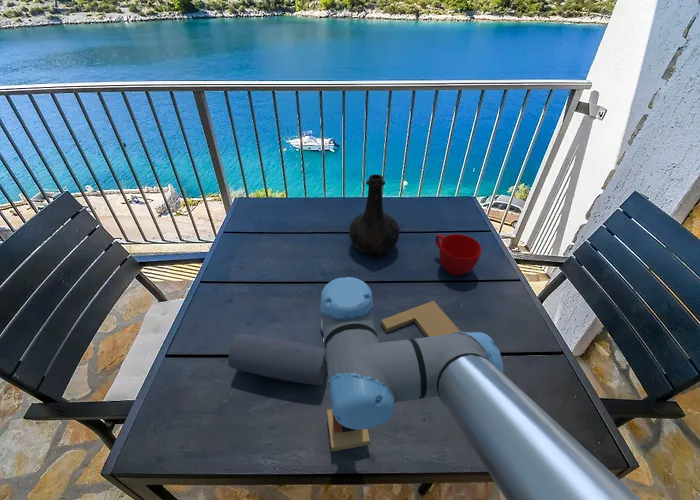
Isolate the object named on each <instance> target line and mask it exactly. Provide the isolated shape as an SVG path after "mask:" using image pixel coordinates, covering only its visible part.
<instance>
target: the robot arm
mask: <svg viewBox="0 0 700 500" xmlns="http://www.w3.org/2000/svg"><path fill="white" fill-rule="evenodd" d="M319 307H320V312H321V320H322V325H323V332H322V333H323V338H322V339H323V348H324V356H325V365H326V375H327V383H328V384H327V386H328V392H329V396H330V403H331V409H332V410H333V414H334V417H335V419H336V420H337V421H338V423H340V424H341V425H342V431H343V432H348V431H354V430H363V429H372V428H374V427H376V426H381V425H383V424H385V423H386V422H388V421H390V419H391V418H392V416H393V415H394V412H395V403H399V402H407V401H416V400H421V399H430V398H436V397H437V398H439V399H440V400H441V402H442V403H443V405H444V406H445V408H446V409H447V410H448V413H450V415H451V416H452V418H453V420H454V421H455V423H456V425H457V426H458V428H459V429H460V430H461V432H462V434H463V435H464V437H465V439H466V441H467V442H468V443H469V445H470V447H471V448H472V449H473V451H474V452H475V454H476V455H477V457H478V459H479V460H480V461H481V463H482V465H483V466H484V468H485V469H486V471H487V473H488V474H489V475H490V478H492V480H493V482H494V483H495V485H496V487H497V488H498V489H499V491H500V492H501V494H502V496H503V497H504V499H505V500H642V499H641V498H640V497H639V496H638V495H637V494H636V493H635V492H634V491H632V489H630V488H629V486H627V484H625V483H624V482H623V481H622V480H621V479H620V478H618V476H616V475H615V474H614V473H613V472H612V471H611V470H610V469H608V468H607V467H606V466H605V465H604V464H603V463H602V462H601V461H599V459H597V458H596V457H595V456H594V455H593V453H591V452H590V451H589V450H588V449H586V448H585V447H584V446H583V444H581V443H580V442H579V441H578V440H577V439H576V438H574V437H573V435H571V434H570V433H569V432H568V431H567V430H566V429H565V428H563V426H561V424H559V423H558V422H557V421H556V420H555V419H554V418H553V417H552V416H550V415H549V414H548V413H547V412H546V410H544V409H542V407H540V406H539V404H537V403H536V402H535V401H534V400H533V399H532V398H531V397H529V396H528V395H527V394H526V393H525V391H523V390H522V389H521V388H520V387H519V386H517V385H516V384H515V383H514V382H513V381H512V380H511V379H510V378H509V377H508V376H507V375H506V374H504V363H503V359H502V355H501V352H500V350H499V348H498V347H497V346H496V344H495V341H494V340H493V339H492V337H491V336H489V335H488V334H487V333H485V332H481V331H471V332H470V331H469V332H466V331H460V332H456V333H453V334H447V335H439V336H431V337H425V336H423V337H416V338H408V339H399V340H389V341H382V342H380V341H379V337H378V334H377V330H376V326H375V323H374V318H373V308H374V302H373V292H372V290H371V288H370V285H368V283H366V282H365V281H363V280H362V279H359V278H356V277H351V276H347V277H338V278H335V279H333V280H330V281H329V282H328V283H327V284H326V285H325V286H324V287H323V288H322V291H321V293H320V305H319Z"/></svg>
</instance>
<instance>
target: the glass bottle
mask: <svg viewBox="0 0 700 500" xmlns="http://www.w3.org/2000/svg"><path fill="white" fill-rule="evenodd" d="M365 184H366V185H367V186H368V188H367V190H368V191H367V198H366V204H365V209H364V212H362V213H360V214H358V215H357V216H356V217H354V219H353V220H352V221H351V223H350V225H349V228H348V235H349V239H350V241H351V243H352V245H353V246H354V247H355V248H356V249H357V250H359V252H361V253H363V254H367V255H369V256H379V255H384V254H386V253H388V252H389V251H391V250H392V249H393V248H394V247H395V246H396V244H397V243H398V241H399V238H400V226H399V224H398V223H397V221H396V220H395V219H394V218H393V217H392V216H391V215H389V214H388V213H385V212H384V210H383V209H384V207H383V186H385V185H386V181H385V180H384V177H383V175H381V174H374V173H373V174H371V175H369V177H368V179H367V180H366V181H365Z"/></svg>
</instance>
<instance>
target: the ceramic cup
mask: <svg viewBox="0 0 700 500" xmlns="http://www.w3.org/2000/svg"><path fill="white" fill-rule="evenodd" d="M440 239H441V240H440ZM435 244H436V245H437V248H438V249H439V261H440V263H441V265H442V268H444V270H445V271H446V272H447V273H448V274H450V275H452V276H462V275H465V274H468V273H469V272H470V271H472V270H474V268H475V267H476V266H477V264H478V262H479V259H480V257H481V255H482V245H481V244H480V243H479V241H477V240H476V239H474V238H473V237H471V236H469V235H466V234H461V233H460V234H459V233H453V234H448V235H446V236H444V235H443V234H437V235H436V236H435Z"/></svg>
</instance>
